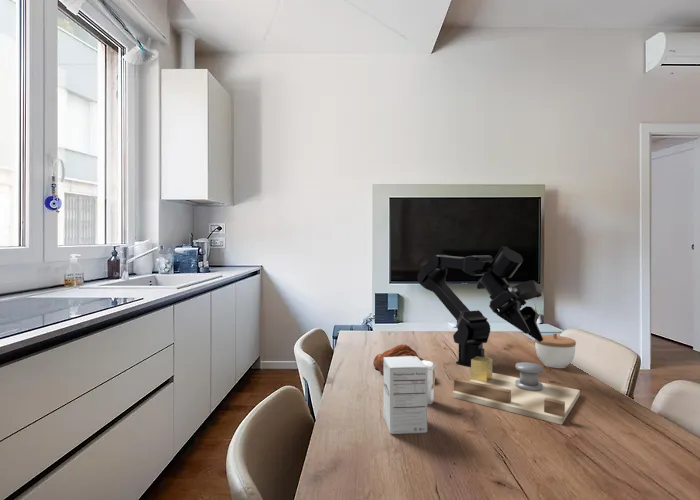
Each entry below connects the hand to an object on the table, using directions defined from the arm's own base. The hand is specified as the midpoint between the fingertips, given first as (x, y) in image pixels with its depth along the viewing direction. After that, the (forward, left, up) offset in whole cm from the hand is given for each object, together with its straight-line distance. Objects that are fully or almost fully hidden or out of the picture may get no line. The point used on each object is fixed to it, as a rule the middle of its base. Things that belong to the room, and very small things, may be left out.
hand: (535, 336), depth 98 cm
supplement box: (-15, -37, -13) cm, 42 cm away
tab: (-12, -4, -12) cm, 17 cm away
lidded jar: (-1, +25, -13) cm, 28 cm away
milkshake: (-17, -24, -13) cm, 32 cm away
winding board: (-2, -8, -13) cm, 15 cm away
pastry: (-32, -10, -13) cm, 36 cm away
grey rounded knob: (-1, -3, -12) cm, 12 cm away
